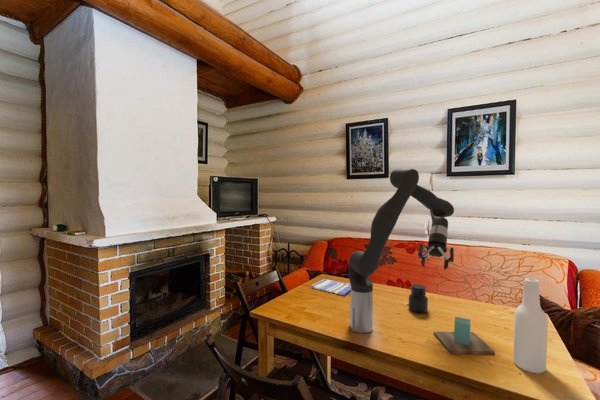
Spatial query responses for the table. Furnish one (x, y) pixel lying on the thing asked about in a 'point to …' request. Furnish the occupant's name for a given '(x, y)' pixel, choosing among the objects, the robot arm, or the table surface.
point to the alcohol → (530, 331)
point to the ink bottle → (418, 299)
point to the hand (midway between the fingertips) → (434, 267)
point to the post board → (457, 348)
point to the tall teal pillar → (462, 330)
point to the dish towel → (332, 287)
